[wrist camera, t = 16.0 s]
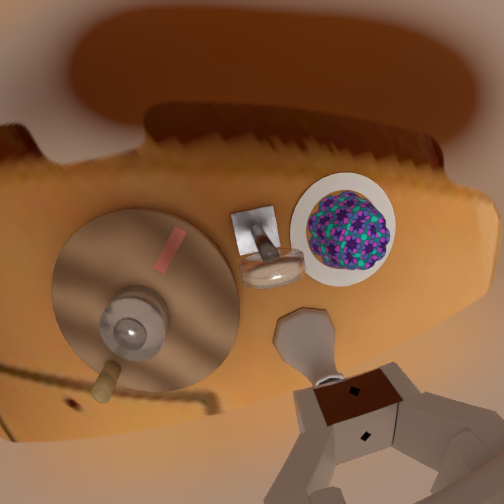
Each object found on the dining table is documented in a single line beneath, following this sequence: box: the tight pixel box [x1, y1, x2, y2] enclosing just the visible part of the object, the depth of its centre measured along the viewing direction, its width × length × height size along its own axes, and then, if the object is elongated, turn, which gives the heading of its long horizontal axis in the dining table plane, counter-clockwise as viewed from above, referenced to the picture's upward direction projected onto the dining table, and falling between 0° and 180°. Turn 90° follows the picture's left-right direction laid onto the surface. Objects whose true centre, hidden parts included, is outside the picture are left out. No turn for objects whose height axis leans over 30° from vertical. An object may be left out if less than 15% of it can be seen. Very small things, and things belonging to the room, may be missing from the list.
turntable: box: [52, 208, 240, 403], centre depth 27 cm, size 20×20×7 cm
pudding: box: [290, 173, 396, 286], centre depth 29 cm, size 12×12×5 cm
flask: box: [273, 308, 344, 386], centre depth 30 cm, size 7×7×10 cm
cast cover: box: [99, 285, 170, 361], centre depth 27 cm, size 6×6×4 cm
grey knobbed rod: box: [231, 205, 306, 289], centre depth 25 cm, size 4×4×12 cm
